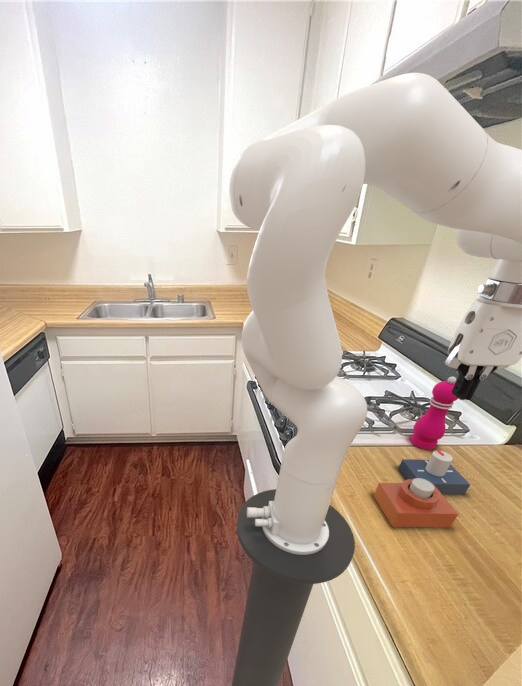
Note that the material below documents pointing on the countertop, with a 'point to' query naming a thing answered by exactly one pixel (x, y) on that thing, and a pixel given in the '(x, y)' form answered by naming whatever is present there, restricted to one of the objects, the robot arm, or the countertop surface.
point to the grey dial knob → (439, 463)
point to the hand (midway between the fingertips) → (460, 396)
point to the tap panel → (445, 484)
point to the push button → (421, 488)
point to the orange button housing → (413, 506)
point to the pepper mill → (434, 416)
